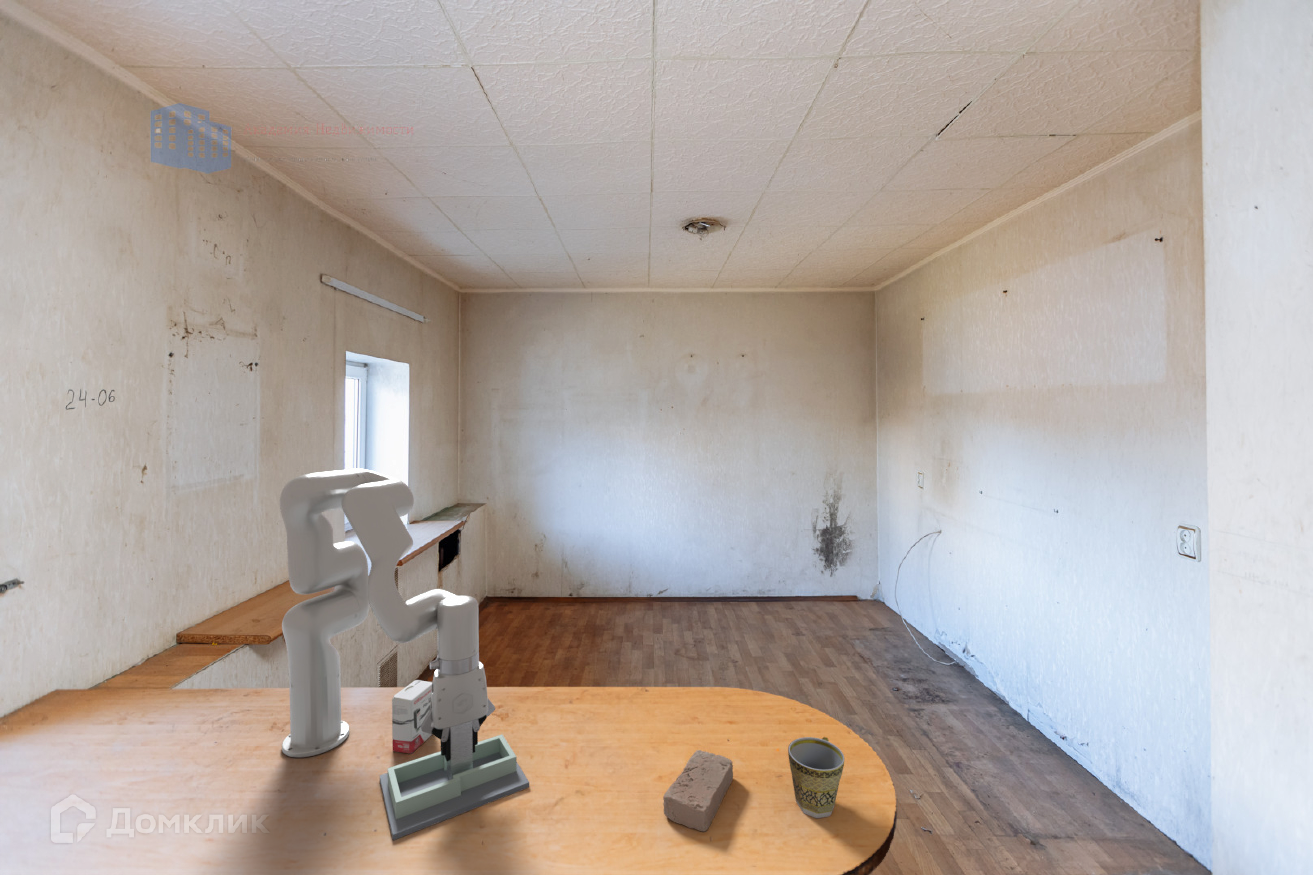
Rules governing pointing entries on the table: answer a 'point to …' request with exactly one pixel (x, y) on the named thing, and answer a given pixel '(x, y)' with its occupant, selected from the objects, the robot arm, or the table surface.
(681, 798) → the brick
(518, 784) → the green walled fixture tray
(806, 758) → the ceramic cup
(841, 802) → the table surface
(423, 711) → the ink box
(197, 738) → the table surface
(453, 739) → the metal peg
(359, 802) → the table surface
